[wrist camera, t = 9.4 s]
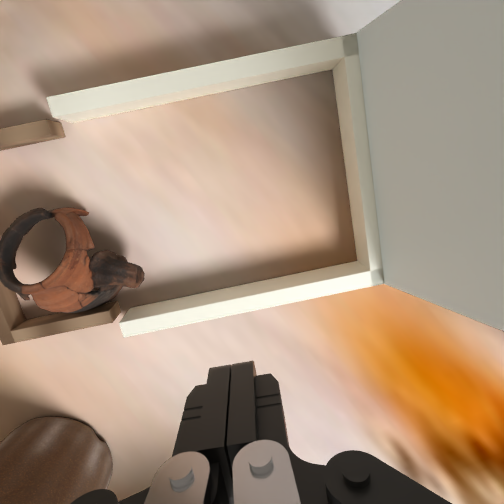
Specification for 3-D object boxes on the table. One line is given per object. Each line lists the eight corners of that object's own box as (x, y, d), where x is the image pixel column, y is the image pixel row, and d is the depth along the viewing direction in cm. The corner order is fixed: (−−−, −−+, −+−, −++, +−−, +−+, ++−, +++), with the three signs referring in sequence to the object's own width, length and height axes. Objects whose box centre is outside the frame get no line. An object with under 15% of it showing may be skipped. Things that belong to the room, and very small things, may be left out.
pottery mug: (49, 311, 35) (-29, 304, 27) (68, 223, 37) (1, 193, 29) (157, 321, 33) (106, 317, 25) (172, 227, 35) (129, 194, 27)
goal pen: (61, 123, 30) (46, 119, 28) (121, 311, 35) (112, 322, 32) (-57, 147, 30) (-82, 145, 28) (18, 332, 35) (2, 345, 32)
